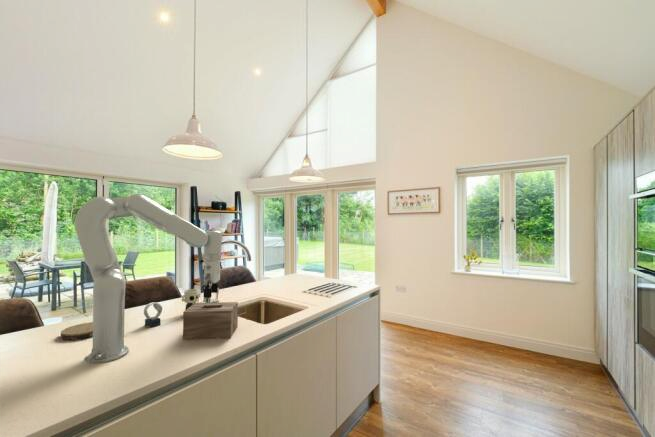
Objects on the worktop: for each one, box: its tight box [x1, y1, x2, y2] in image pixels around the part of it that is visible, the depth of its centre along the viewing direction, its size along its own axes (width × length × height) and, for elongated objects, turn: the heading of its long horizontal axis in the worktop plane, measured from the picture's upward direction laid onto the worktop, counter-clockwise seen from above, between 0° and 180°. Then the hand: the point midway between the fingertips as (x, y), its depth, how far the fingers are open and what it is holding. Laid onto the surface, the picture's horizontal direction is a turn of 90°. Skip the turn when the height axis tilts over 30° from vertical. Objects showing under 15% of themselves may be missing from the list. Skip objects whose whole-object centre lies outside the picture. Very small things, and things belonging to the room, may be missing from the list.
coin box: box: [182, 301, 239, 341], centre depth 132 cm, size 14×20×12 cm
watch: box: [143, 301, 163, 328], centre depth 142 cm, size 6×8×11 cm
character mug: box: [181, 288, 201, 311], centre depth 160 cm, size 11×7×13 cm, turn 148°
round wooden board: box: [60, 321, 93, 342], centre depth 131 cm, size 16×16×3 cm
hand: (210, 295), depth 132 cm, fingers open, 9 cm apart
